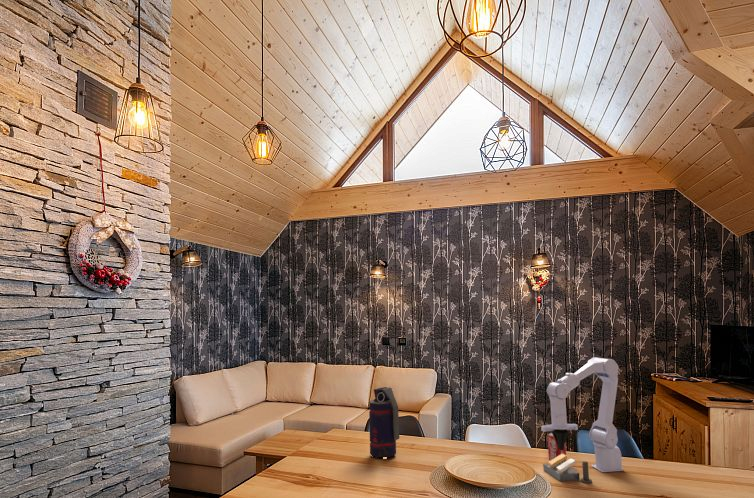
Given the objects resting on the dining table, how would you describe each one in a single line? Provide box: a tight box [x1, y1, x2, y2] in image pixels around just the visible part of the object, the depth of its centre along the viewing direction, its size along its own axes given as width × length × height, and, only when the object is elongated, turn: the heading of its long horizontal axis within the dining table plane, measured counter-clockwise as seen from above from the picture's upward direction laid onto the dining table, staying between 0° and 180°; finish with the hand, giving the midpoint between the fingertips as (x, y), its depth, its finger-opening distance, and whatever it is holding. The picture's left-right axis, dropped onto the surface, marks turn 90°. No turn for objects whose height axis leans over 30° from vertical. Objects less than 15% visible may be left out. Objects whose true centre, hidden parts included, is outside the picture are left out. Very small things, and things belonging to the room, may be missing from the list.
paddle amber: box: [547, 454, 568, 467], centre depth 194 cm, size 7×3×2 cm, turn 101°
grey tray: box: [542, 462, 581, 482], centre depth 192 cm, size 8×13×4 cm, turn 8°
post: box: [579, 461, 593, 484], centre depth 185 cm, size 4×4×7 cm
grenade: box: [368, 386, 400, 458], centre depth 221 cm, size 14×12×30 cm
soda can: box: [547, 432, 567, 463], centre depth 206 cm, size 7×7×12 cm
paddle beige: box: [556, 458, 577, 472], centre depth 188 cm, size 7×3×2 cm, turn 101°
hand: (560, 449), depth 192 cm, fingers closed
